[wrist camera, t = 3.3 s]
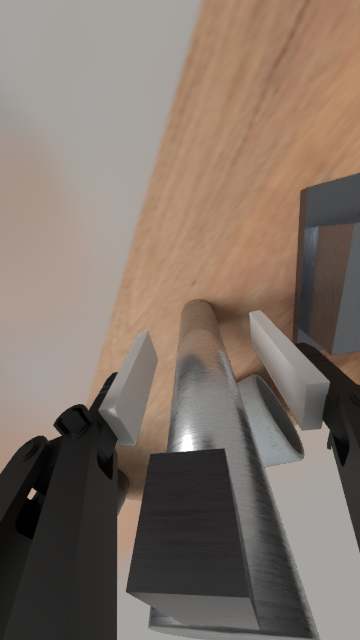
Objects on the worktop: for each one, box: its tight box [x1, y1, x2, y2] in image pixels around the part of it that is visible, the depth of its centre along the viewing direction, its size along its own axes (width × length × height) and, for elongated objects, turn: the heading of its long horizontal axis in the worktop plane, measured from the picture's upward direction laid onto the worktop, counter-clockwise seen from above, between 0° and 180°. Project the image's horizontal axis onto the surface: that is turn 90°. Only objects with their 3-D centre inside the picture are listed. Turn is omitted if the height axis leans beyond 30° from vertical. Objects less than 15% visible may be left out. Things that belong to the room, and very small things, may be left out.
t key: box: [126, 300, 320, 640], centre depth 10 cm, size 8×3×15 cm, turn 14°
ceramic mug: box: [237, 374, 304, 467], centre depth 18 cm, size 11×8×8 cm
